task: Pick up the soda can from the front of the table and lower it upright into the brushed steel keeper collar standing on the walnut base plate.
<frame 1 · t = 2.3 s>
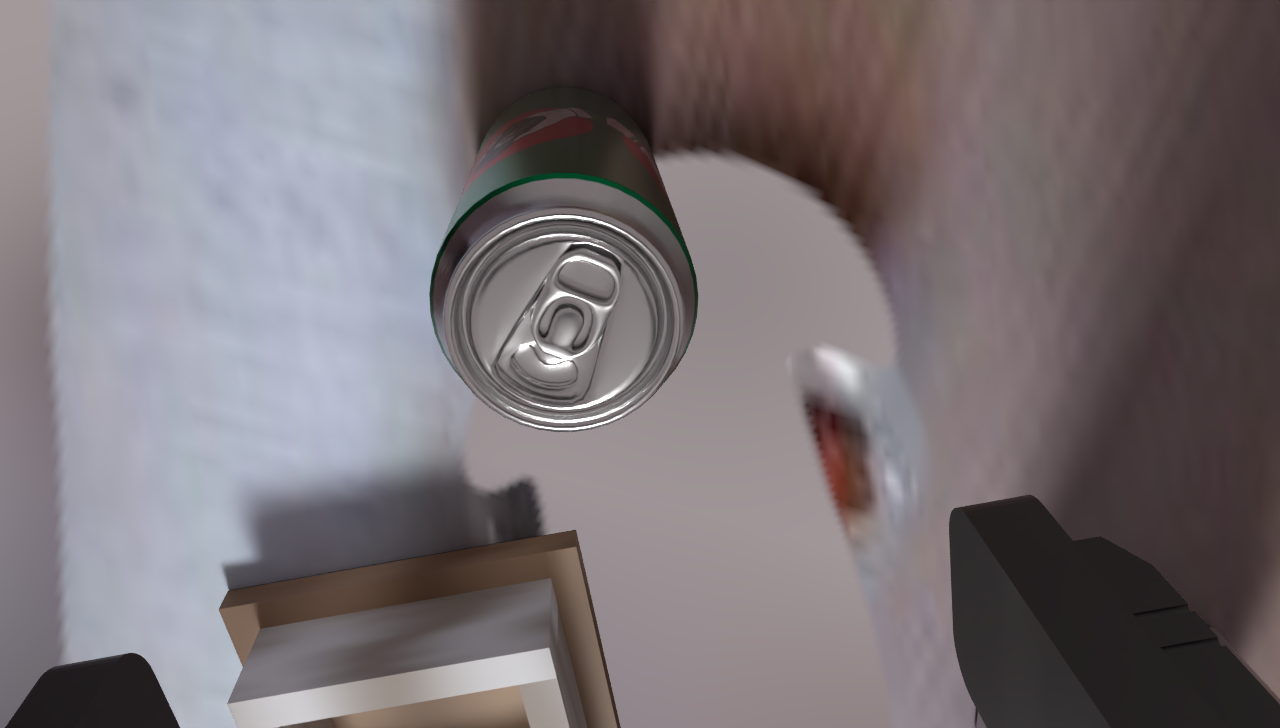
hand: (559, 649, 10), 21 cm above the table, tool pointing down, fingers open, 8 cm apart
keeper: (444, 694, 36), on the table
soda can: (566, 172, 29), on the table
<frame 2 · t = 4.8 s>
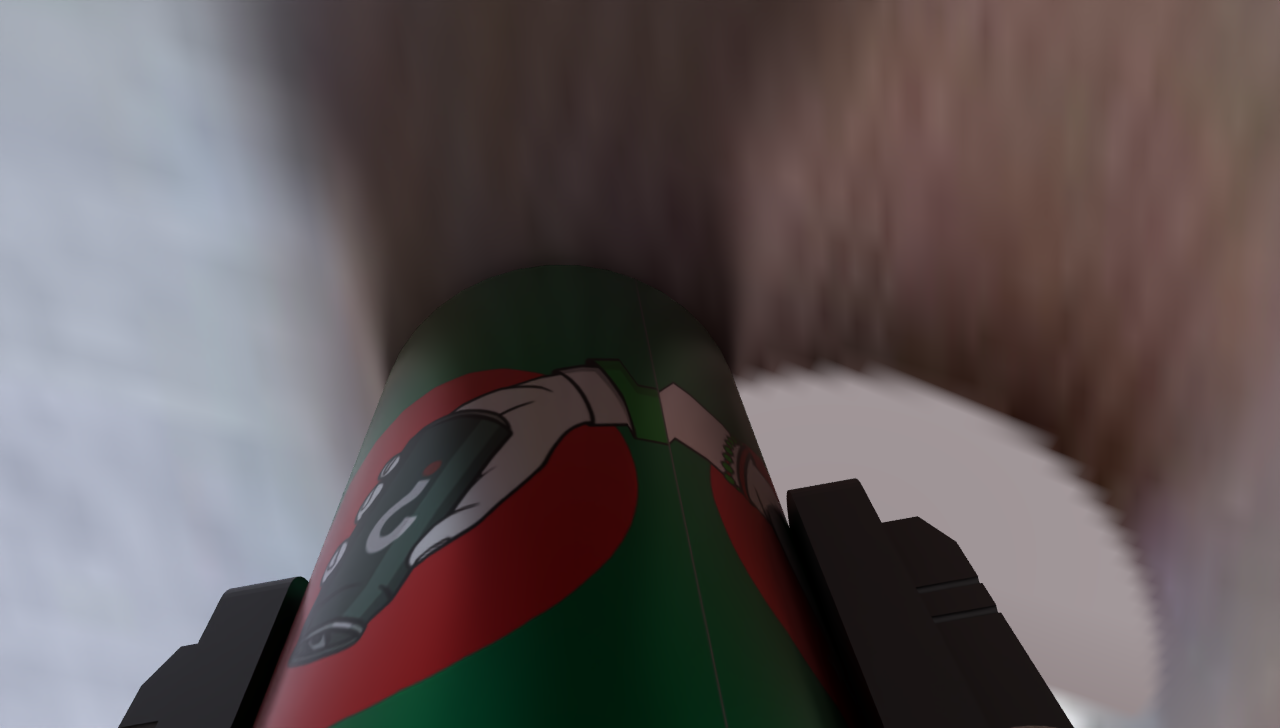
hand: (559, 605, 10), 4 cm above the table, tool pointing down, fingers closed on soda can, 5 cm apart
soda can: (563, 409, 15), on the table, touching gripper
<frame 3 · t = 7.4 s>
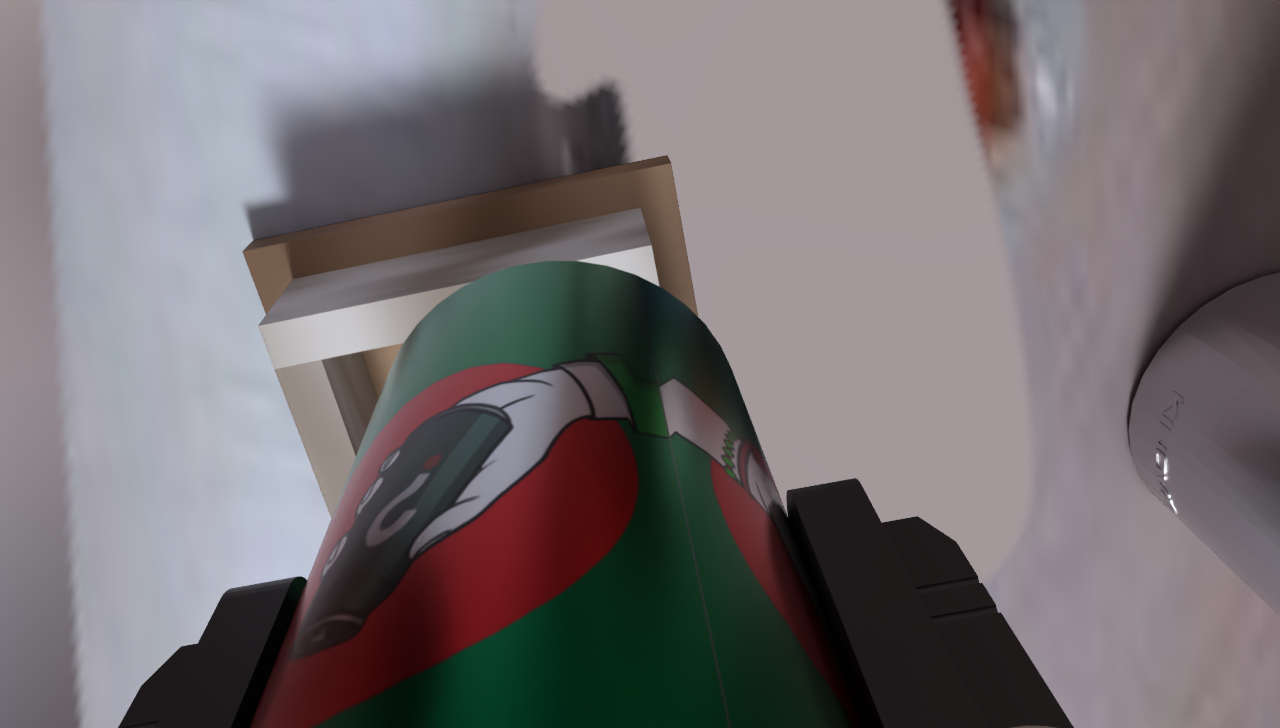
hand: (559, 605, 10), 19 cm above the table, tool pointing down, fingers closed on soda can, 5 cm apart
keeper: (510, 384, 30), on the table
soda can: (563, 406, 15), point 15 cm above the table, touching gripper
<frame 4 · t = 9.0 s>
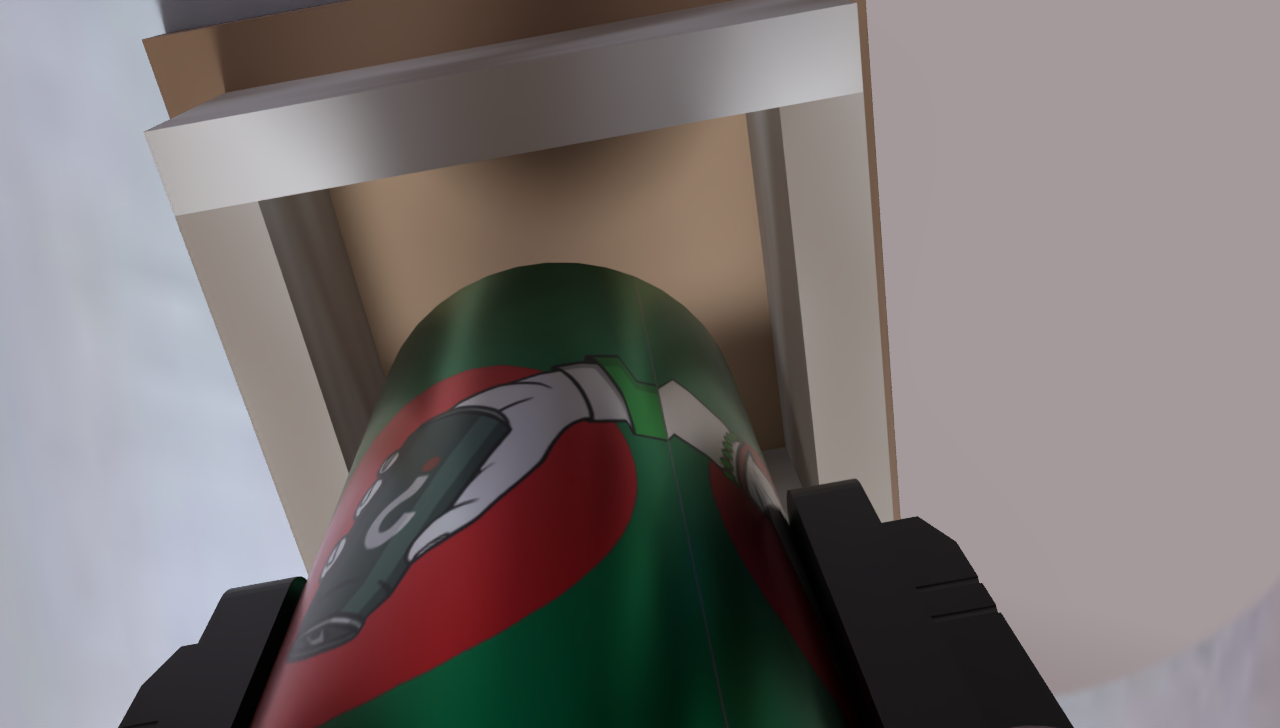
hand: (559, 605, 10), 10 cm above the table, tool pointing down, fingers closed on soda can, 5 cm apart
keeper: (569, 292, 20), on the table
soda can: (562, 407, 15), point 5 cm above the table, touching gripper
when the fingers open (7 cm above the table, at t = 10.1 s): soda can drops 1 cm, resting on keeper.
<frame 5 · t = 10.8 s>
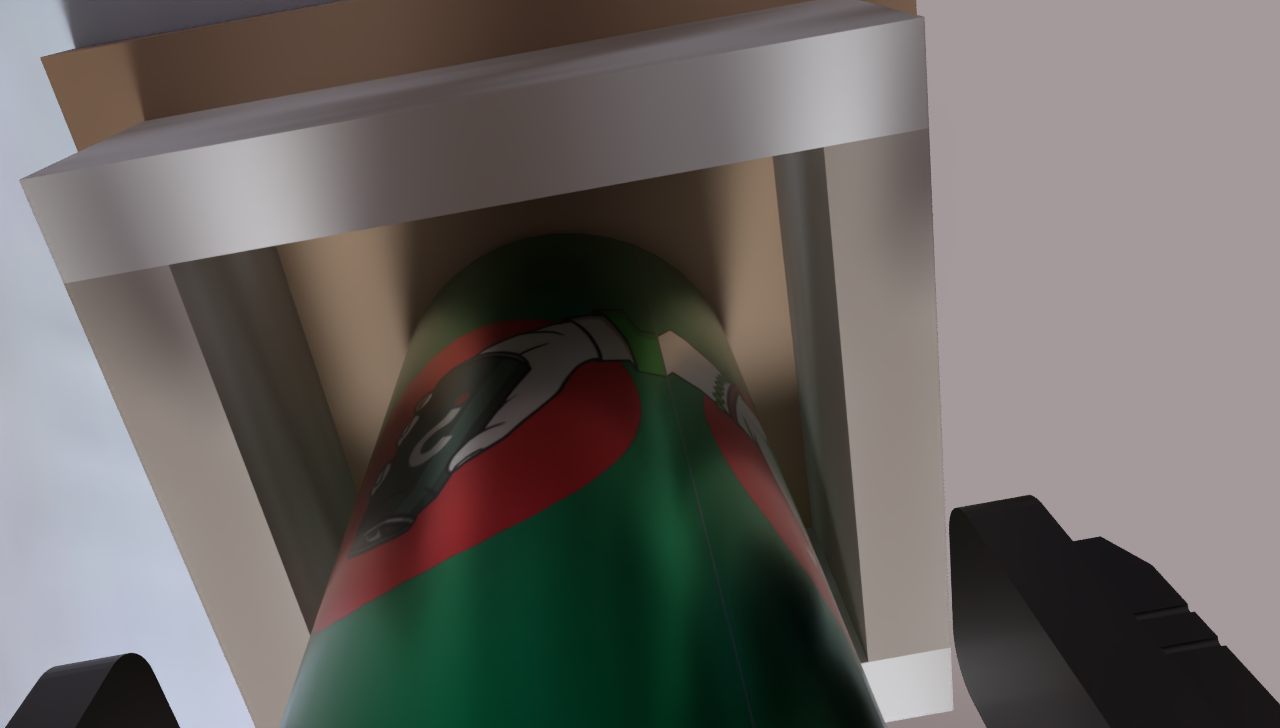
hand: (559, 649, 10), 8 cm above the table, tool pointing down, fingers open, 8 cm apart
keeper: (561, 349, 17), on the table
soda can: (570, 368, 16), point 1 cm above the table, touching keeper
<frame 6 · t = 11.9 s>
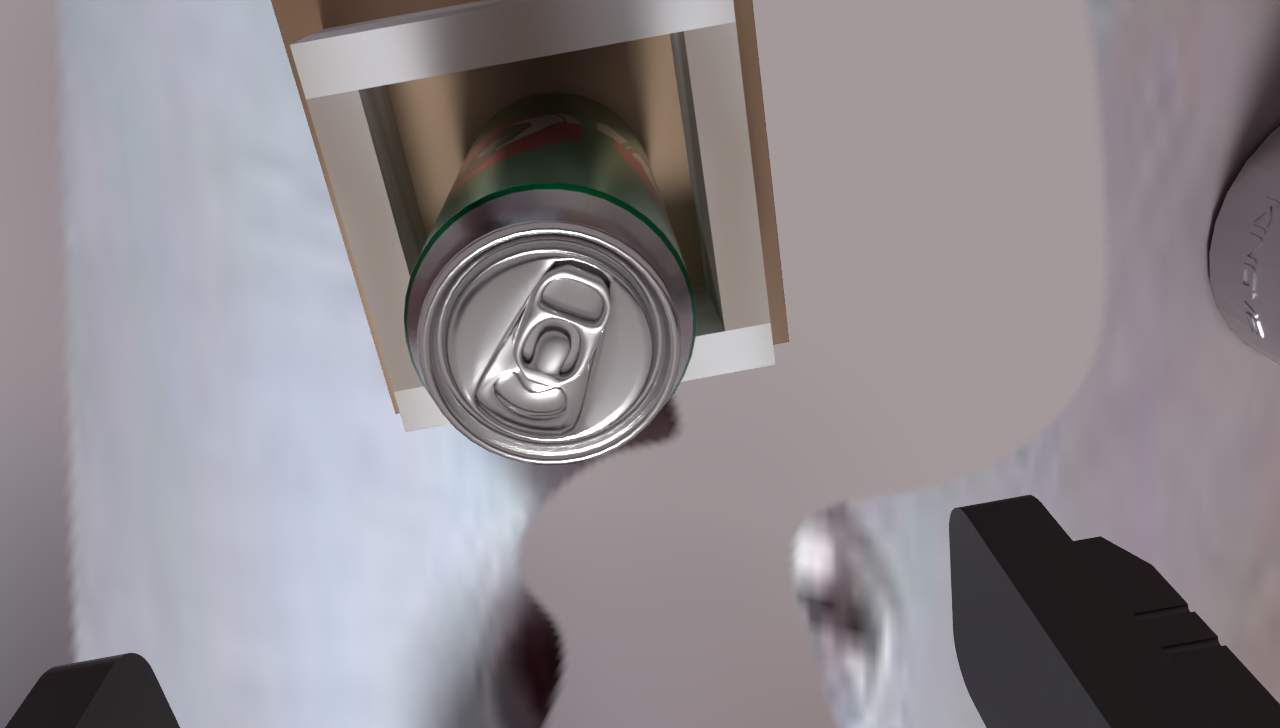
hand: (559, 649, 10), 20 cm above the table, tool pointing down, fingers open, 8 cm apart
keeper: (553, 175, 28), on the table
soda can: (558, 182, 27), point 1 cm above the table, touching keeper
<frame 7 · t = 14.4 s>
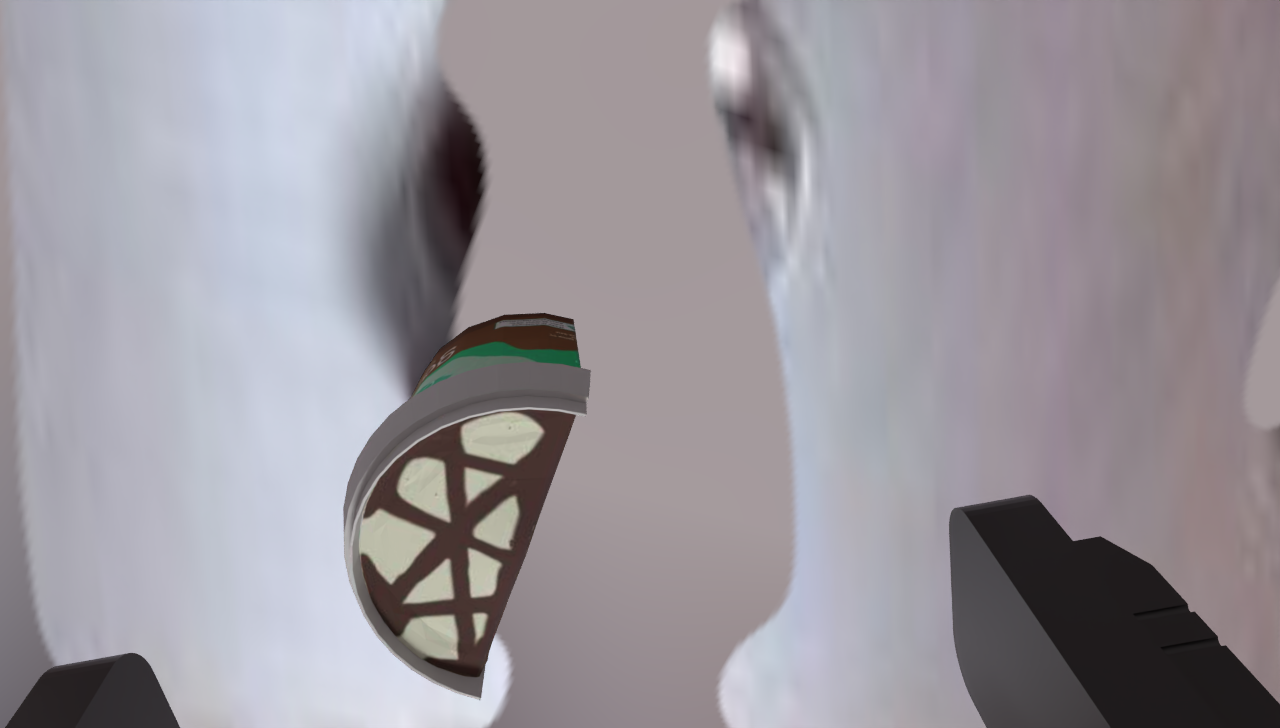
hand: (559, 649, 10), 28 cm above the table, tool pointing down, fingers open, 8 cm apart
food container: (464, 398, 40), on the table
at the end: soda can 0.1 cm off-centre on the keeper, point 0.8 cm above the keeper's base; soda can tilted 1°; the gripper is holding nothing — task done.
